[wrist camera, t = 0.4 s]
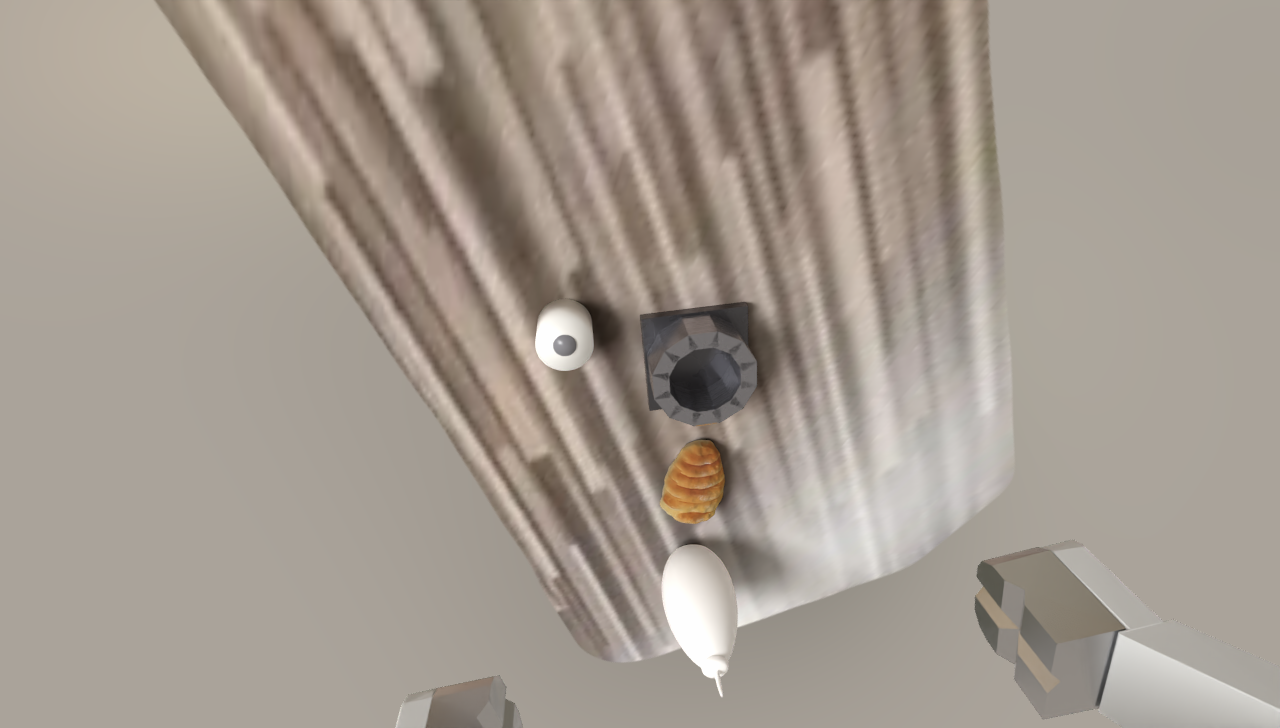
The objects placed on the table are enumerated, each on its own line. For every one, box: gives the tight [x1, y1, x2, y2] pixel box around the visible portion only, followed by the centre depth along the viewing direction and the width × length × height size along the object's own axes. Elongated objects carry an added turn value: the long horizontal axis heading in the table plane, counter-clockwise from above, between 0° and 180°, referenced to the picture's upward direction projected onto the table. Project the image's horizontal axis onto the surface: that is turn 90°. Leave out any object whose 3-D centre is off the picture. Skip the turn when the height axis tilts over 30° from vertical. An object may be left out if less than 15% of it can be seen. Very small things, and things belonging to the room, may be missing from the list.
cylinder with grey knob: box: [535, 299, 594, 371], centre depth 54 cm, size 5×5×5 cm
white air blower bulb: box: [662, 544, 738, 697], centre depth 63 cm, size 8×8×18 cm
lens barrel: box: [640, 302, 757, 426], centre depth 57 cm, size 10×10×5 cm
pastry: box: [660, 440, 725, 524], centre depth 64 cm, size 9×7×4 cm
